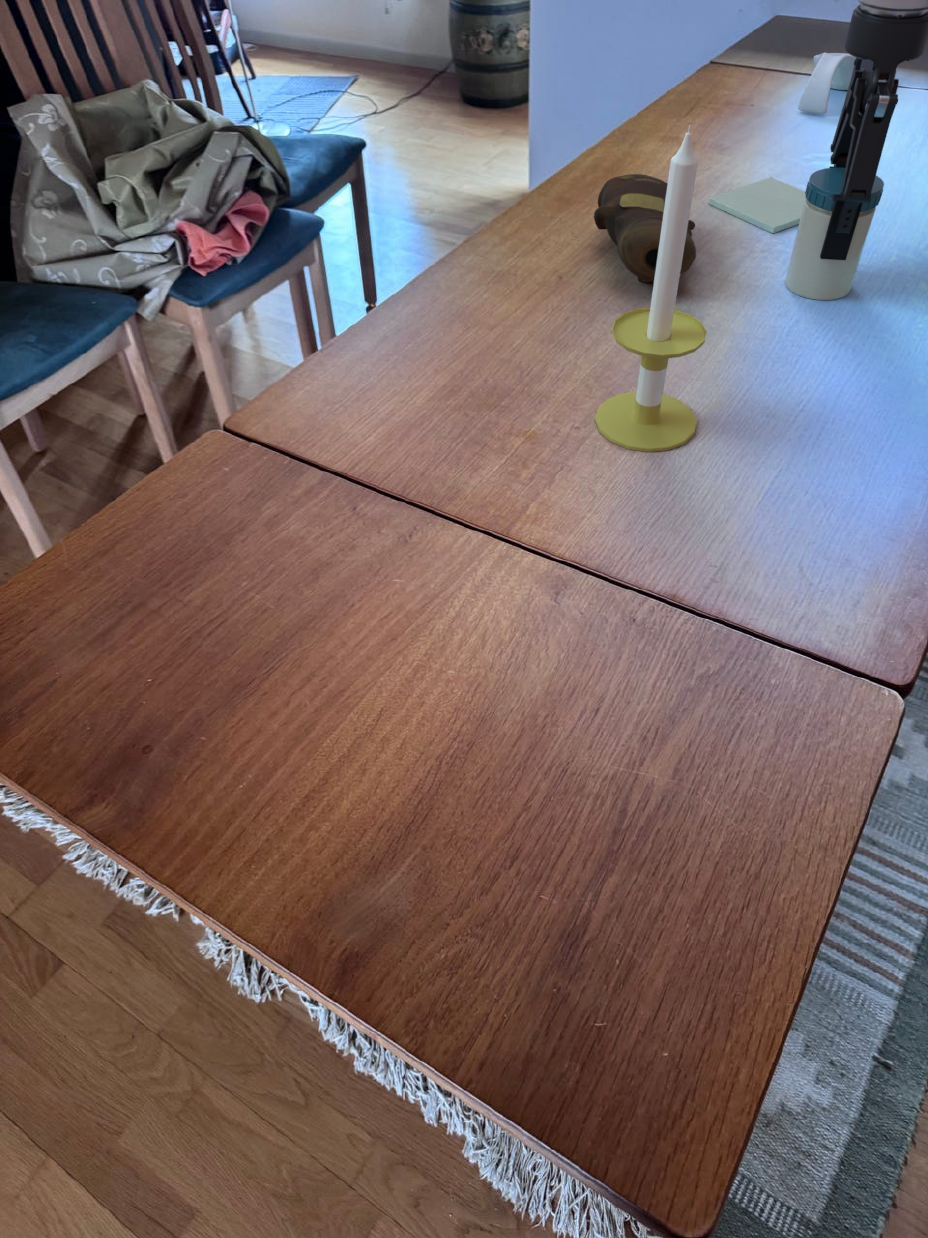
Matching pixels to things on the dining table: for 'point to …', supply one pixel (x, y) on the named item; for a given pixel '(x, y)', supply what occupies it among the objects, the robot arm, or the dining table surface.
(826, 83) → the spoon rest
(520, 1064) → the dining table surface
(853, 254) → the jar
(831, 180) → the lid
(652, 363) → the candle
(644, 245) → the pottery vessel
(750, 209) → the tile
